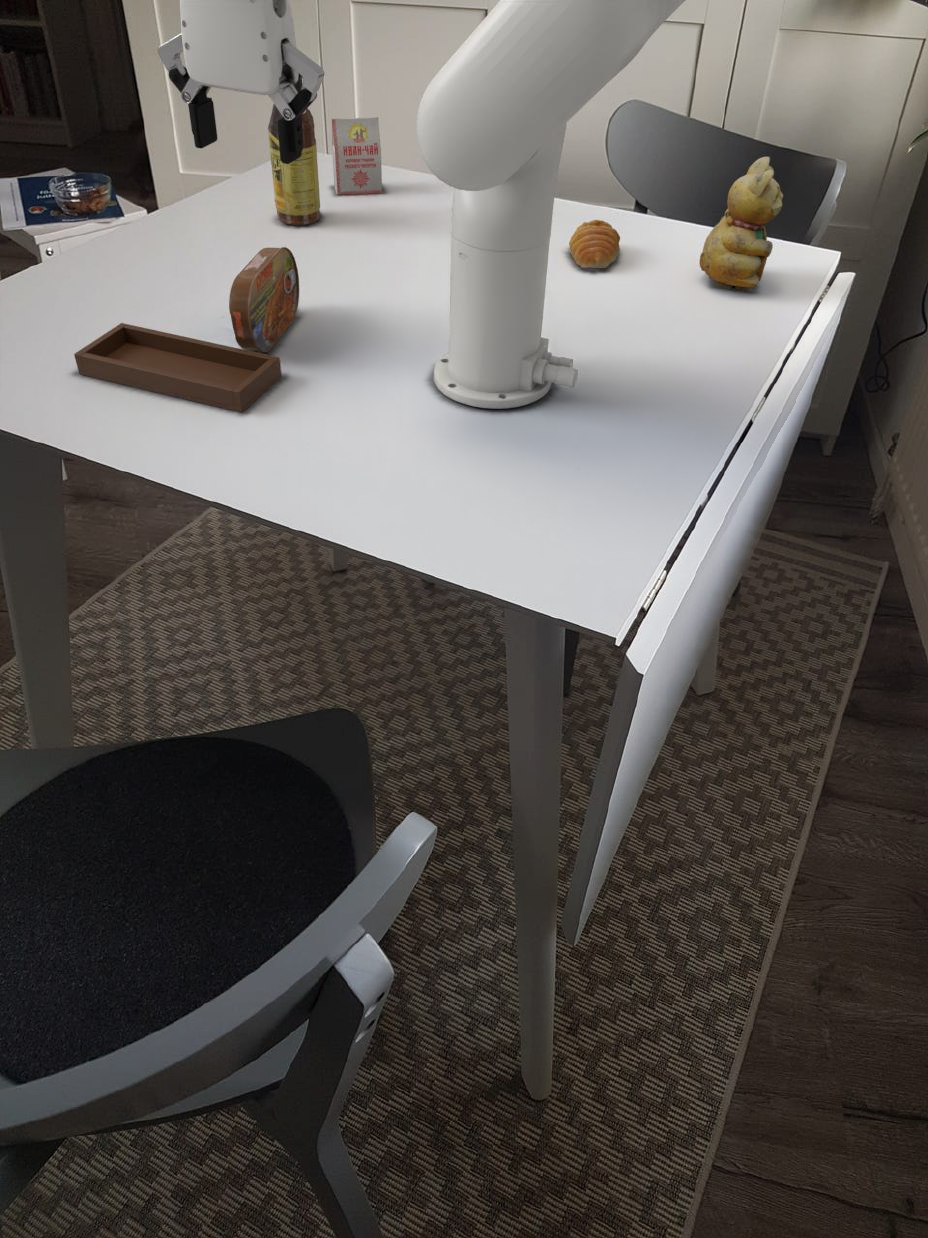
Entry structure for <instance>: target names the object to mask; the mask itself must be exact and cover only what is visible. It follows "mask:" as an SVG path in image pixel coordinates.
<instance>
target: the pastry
mask: <svg viewBox="0 0 928 1238" xmlns="http://www.w3.org/2000/svg"><path fill="white" fill-rule="evenodd" d="M620 240H621V236H620V234H619V232H618V231H617V230H616V229H615V228H613V226H612V224H610V223H608V222H607V221H604V220H600V219H592V220H590V221H587V222H586V221H585V222H582V223H581V224H580V225H579V226H577V227H576V230H575V231H574V233H573V234H572V236H571V237H570V240H569V241H568V245H569V251H570V254H571V257H572V259H573V260H574V263H575V264H576V265H577V266H580V267H581V268H582V269H584V268H585V269H586V268H596V269H597V268H598V269H599V268H600V269H607V268H608V267H609V265H611V264H613V263H615V261H616V259H617V256H618V255H619V253H620V251H621V247H620Z"/></svg>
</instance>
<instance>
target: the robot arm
mask: <svg viewBox="0 0 928 1238" xmlns="http://www.w3.org/2000/svg"><path fill="white" fill-rule="evenodd" d="M685 1H686V0H499V1H498V2H497V4H495V6H494V7H493V8H492V10H491V11H490V12H489V13H488V14H487V15H486V16H485V17H484V19H483V20H482V21H481V22H480V23H479V24H478V25H477V27H476V28H475V29H474V30H473V31H472V32H471V34H469V36H468V37H467V38H466V39H465V40H464V42H463V43H462V44H461V45H460V46H459V47H458V48H457V50H456V51H455V52H454V53H453V55H451V57H450V58H449V59H448V60H447V62H445V64H444V65H443V66H442V67H441V68H440V70H439V71H438V72H437V73H436V74H435V75H434V77H433V78H432V79H431V81H430V82H429V84H428V85H427V86H426V89H425V90H424V92H423V94H422V97H421V99H420V102H419V105H418V110H417V116H416V124H415V125H416V126H415V127H416V128H415V129H416V132H415V133H416V140H417V145H418V149H419V152H420V154H421V157H422V160H423V161H424V163H425V165H426V167H427V168H428V170H430V172H431V173H432V174H433V175H434V176H435V178H437V179H438V180H439V181H441V182H442V183H444V184H445V185H447V186H449V187H450V188H453V193H452V205H451V230H450V231H451V232H450V269H449V270H450V273H449V274H450V275H449V277H450V280H449V282H450V283H449V318H448V319H449V320H448V321H449V323H448V325H449V326H448V328H449V329H448V333H449V334H448V352H447V353H445V354H444V355H442V356H441V357H439V358H438V360H437V361H436V362H435V364H434V366H433V382H434V385H435V386H436V388H437V390H438V391H440V392H441V393H442V394H443V395H444V396H446V397H448V398H449V399H451V400H453V401H455V402H457V403H460V404H463V405H466V406H470V407H476V408H481V409H490V410H491V409H492V410H501V409H513V408H519V407H522V406H527V405H529V404H532V403H534V402H537V401H538V400H540V399H541V398H543V397H544V396H546V395H547V394H548V393H549V390H550V389H551V388H552V384H556V385H557V386H562V387H567V388H571V389H575V386H576V384H577V380H578V376H579V369H578V368H576V367H575V368H574V367H573V364H574V359H573V358H570V357H564V356H557V355H553V353H552V352H550V351H549V342H550V341H549V340H550V339H549V338H546V337H542V332H543V320H544V310H545V309H544V308H545V298H546V286H547V276H548V275H547V274H548V265H549V253H550V242H551V235H552V223H553V215H554V205H555V204H554V203H555V197H556V196H555V195H556V186H557V181H558V176H559V175H558V174H559V169H560V164H561V158H562V152H563V147H564V142H565V137H566V131H567V123H568V122H569V121H570V120H571V119H572V118H573V117H574V116H575V115H576V114H578V112H579V111H580V110H581V109H582V108H583V107H585V105H587V103H589V102H590V101H591V100H592V99H593V98H594V97H595V96H596V95H597V94H598V93H599V92H600V91H601V90H602V89H603V88H604V87H606V85H607V84H608V83H610V82H611V81H612V79H614V78H615V77H616V76H617V75H618V74H619V73H621V71H623V70H624V69H625V68H626V67H628V65H629V64H630V63H631V62H632V61H633V60H634V59H635V58H636V57H637V55H638V54H639V53H640V52H641V50H642V49H643V47H644V46H645V45H646V43H647V42H648V41H649V39H651V37H652V36H653V35H654V34H655V33H656V32H657V30H658V29H659V28H660V27H661V26H662V25H663V24H664V23H665V22H666V21H667V20H668V19H669V18H670V17H671V16H672V15H673V13H674V12H676V11H677V10H678V9H679V8H680V7H681V6H682V4H684V2H685ZM179 12H180V13H179V15H180V30H181V31H180V33H179V34H178V35H175V36H174V37H173V38H171V39H169V40H168V41H166V42H164V43H163V44H160V45H159V46H158V47H157V53H158V56H159V58H160V59H161V62H162V63H163V65H164V69H166V71H168V79H169V80H170V82H172V84H173V86H175V88H176V89H177V90H178V92H180V96H181V100H182V101H183V103H185V104H187V105H188V113H189V120H190V127H191V133H192V135H193V142H194V147H195V148H196V149H203V148H204V149H205V147H208V146H210V145H212V144H213V143H216V142H217V141H218V130H217V129H218V128H217V121H216V113H215V105H214V101H213V98H212V97H210V96H209V97H208V94H209V92H210V90H211V89H212V88H215V89H221V90H227V91H234V92H240V93H245V94H253V95H260V96H268V97H269V98H270V100H271V101H272V103H273V104H275V106H276V107H277V109H278V110H279V112H280V113H281V115H282V118H281V119H279V120H278V136H279V149H280V160H281V162H282V163H284V164H289V163H291V162H293V161H295V160H296V159H298V158H300V157H301V155H302V151H303V129H302V114H304V113H305V112H306V110H307V108H308V109H309V107H310V106H311V105H312V104H313V103H314V102H315V100H316V99H317V98H318V92H319V91H320V88H321V85H322V83H323V79H324V77H325V70H324V68H322V67H321V66H320V65H319V64H317V62H315V61H314V60H312V59H311V58H310V57H309V56H308V55H306V54H305V53H303V52H302V51H301V50H299V48H297V40H296V32H295V26H294V19H293V18H294V17H293V13H292V12H293V11H292V7H291V2H290V0H179ZM182 53H183V57H184V61H185V62H184V63H185V66H184V65H183V61H182V58H181V54H182ZM299 74H301V76H302V77H303V78H302V88H301V90H300V91H299V92H297V90H296V89H295V87H294V86H293V85H294V84H295V83H296V82H297V81H298V75H299Z"/></svg>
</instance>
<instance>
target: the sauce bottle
mask: <svg viewBox="0 0 928 1238" xmlns="http://www.w3.org/2000/svg"><path fill="white" fill-rule="evenodd" d="M302 84H303V77H302V76H301V74H299V75H298V81H297V82H296V83H295V84H294V85H293V86H294V87H295V89H296V90H297V92H299V91H300V90H301V88H302ZM281 118H282V115H281V113H280V112H279V110H278V109H277V107H276V106H275V104H274V103H273V105H272V110H271V114H270V118H269V122H268V126H267V133H268V142H269V153H270V163H271V173H272V174H271V175H272V182H273V183H272V185H273V194H274V205H275V209H276V214H277V218H278V219H279V221H280V222H282V223H283V224H285V225H292V226H306V225H312V224H315V223H316V222H317V221H318V220H319V219H320V216H321V211H320V210H321V199H320V181H319V180H320V179H319V165H318V152H317V151H318V150H317V139H316V133H315V126H316V125H315V121H314V116H313V114H312V112H311V110H310V109H309V107H308V108H307V110H306V112H305V113H304V114H302V129H303V151H302V155H301V157H300V158H298V159H296V160H295V161H293V162H291V163H289V164H284V163H282V162H281V160H280V149H279V136H278V120H279V119H281Z"/></svg>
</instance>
